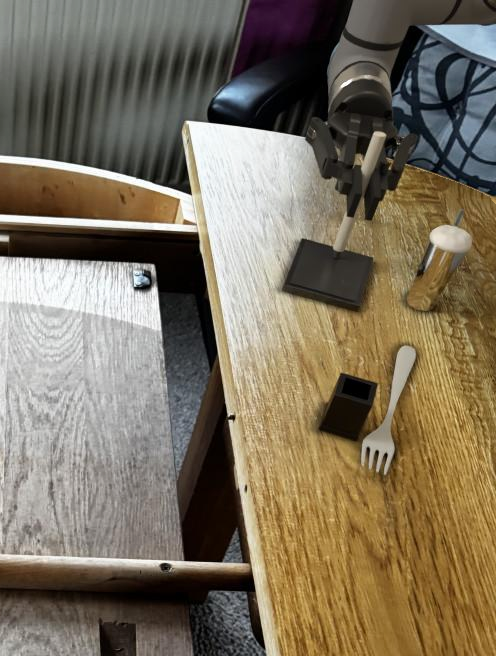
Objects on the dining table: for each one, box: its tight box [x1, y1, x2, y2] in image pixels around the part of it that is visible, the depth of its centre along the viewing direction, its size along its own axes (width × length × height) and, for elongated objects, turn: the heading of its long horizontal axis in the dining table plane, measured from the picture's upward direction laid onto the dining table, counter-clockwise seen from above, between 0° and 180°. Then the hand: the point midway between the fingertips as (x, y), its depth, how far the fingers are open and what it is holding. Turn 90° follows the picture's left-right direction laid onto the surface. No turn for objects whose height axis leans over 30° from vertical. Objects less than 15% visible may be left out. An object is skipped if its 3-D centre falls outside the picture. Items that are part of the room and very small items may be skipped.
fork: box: [360, 345, 417, 476], centre depth 97 cm, size 3×24×2 cm, turn 156°
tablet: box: [281, 237, 375, 312], centre depth 111 cm, size 9×11×1 cm
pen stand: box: [318, 372, 379, 442], centre depth 94 cm, size 4×4×4 cm
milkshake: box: [406, 208, 473, 312], centre depth 106 cm, size 5×5×10 cm
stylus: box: [332, 132, 386, 259], centre depth 107 cm, size 1×1×14 cm
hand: (363, 207), depth 102 cm, fingers closed on stylus
